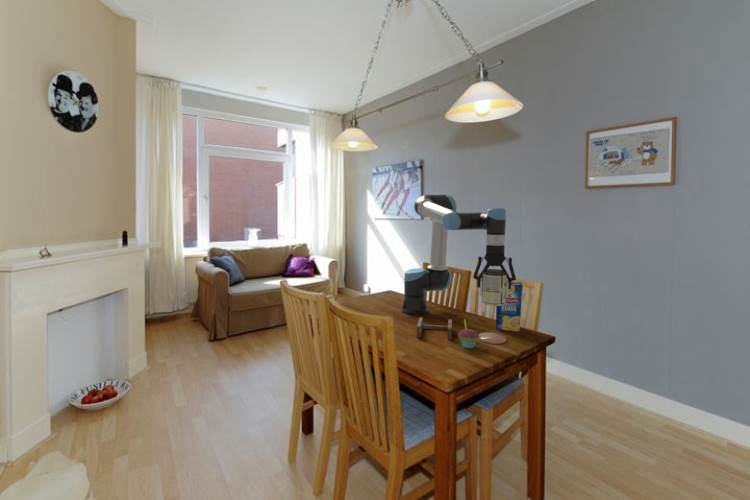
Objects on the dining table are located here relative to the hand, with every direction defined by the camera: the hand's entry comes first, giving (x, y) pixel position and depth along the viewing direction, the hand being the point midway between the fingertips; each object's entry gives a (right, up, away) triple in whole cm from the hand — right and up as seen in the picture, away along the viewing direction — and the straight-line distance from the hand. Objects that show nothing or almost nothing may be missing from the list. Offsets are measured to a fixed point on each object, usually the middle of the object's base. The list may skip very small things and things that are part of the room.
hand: (493, 295), depth 157 cm
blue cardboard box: (+12, -18, +17) cm, 28 cm away
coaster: (0, -19, +2) cm, 20 cm away
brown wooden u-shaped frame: (-24, -19, +9) cm, 32 cm away
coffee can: (0, -3, 0) cm, 3 cm away
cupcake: (-12, -21, -6) cm, 25 cm away
